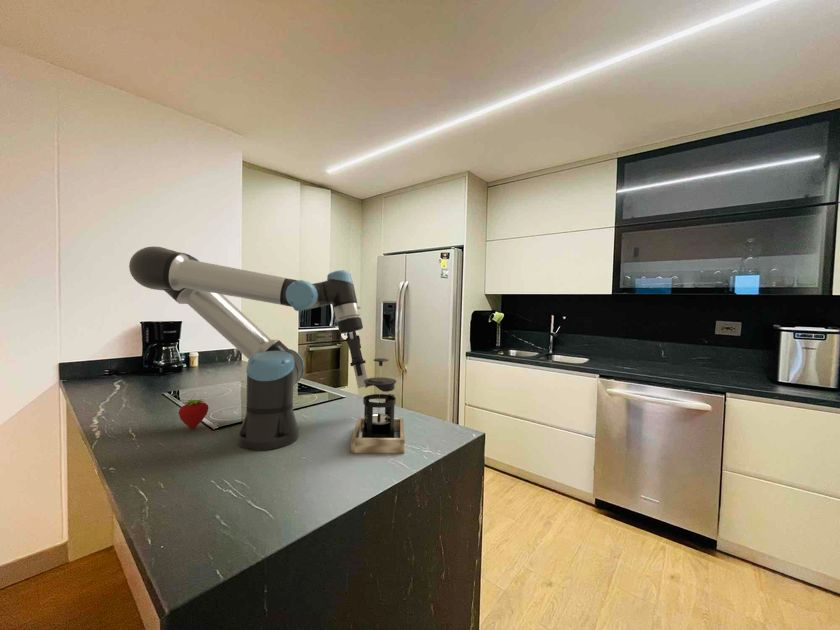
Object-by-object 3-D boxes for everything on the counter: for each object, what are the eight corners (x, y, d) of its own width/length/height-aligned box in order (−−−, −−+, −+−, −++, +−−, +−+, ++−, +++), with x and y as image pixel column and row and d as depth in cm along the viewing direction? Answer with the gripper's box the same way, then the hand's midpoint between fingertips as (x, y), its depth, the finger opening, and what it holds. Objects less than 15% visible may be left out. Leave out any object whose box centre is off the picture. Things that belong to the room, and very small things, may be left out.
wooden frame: (350, 452, 85) (351, 439, 85) (358, 429, 102) (358, 417, 102) (404, 453, 86) (404, 439, 86) (402, 429, 103) (403, 418, 103)
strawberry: (212, 427, 99) (213, 393, 99) (184, 435, 93) (185, 399, 93) (201, 423, 102) (202, 390, 102) (173, 430, 96) (174, 395, 95)
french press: (381, 451, 87) (384, 363, 86) (352, 443, 91) (355, 359, 91) (404, 436, 97) (407, 357, 97) (377, 430, 102) (380, 354, 101)
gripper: (358, 310, 95) (375, 385, 93) (362, 321, 119) (375, 380, 117) (332, 316, 93) (348, 392, 91) (340, 325, 118) (354, 385, 116)
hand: (363, 385), depth 104 cm, fingers open, 13 cm apart
